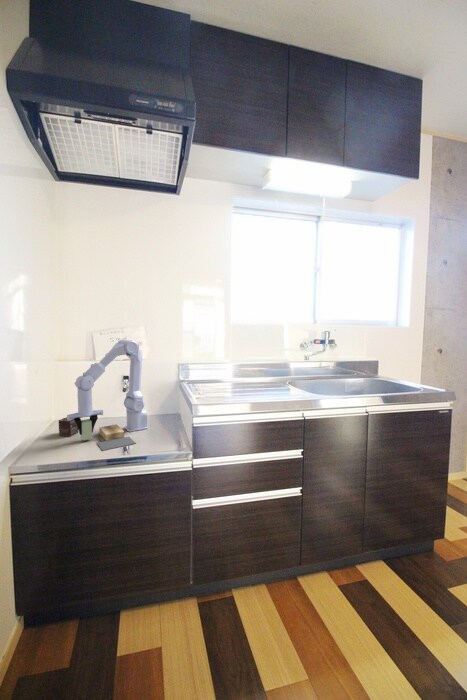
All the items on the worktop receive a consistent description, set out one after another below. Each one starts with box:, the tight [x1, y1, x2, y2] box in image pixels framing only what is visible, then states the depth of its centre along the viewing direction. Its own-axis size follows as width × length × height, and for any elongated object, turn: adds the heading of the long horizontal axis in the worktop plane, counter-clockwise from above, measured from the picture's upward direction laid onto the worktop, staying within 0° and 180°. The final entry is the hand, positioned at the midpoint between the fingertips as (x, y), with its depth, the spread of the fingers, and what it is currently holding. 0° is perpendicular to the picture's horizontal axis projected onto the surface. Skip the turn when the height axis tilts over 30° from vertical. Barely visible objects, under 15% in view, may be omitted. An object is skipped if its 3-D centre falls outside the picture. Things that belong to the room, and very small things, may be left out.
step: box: [98, 424, 125, 441], centre depth 154 cm, size 8×12×3 cm, turn 35°
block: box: [80, 418, 93, 441], centre depth 148 cm, size 4×4×8 cm
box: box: [58, 416, 79, 437], centre depth 155 cm, size 6×6×7 cm
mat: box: [96, 436, 137, 452], centre depth 145 cm, size 14×10×1 cm
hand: (86, 433), depth 148 cm, fingers closed on block, 4 cm apart
